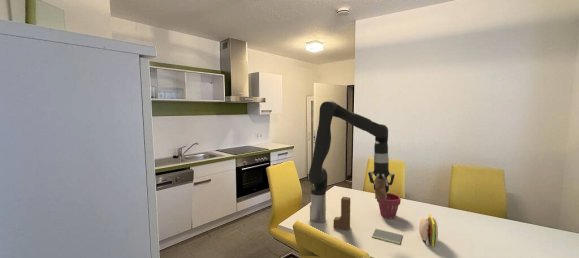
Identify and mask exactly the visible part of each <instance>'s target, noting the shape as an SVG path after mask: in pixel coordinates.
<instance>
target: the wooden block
mask: <svg viewBox="0 0 579 258" xmlns="http://www.w3.org/2000/svg"><path fill="white" fill-rule="evenodd" d="M333 228H337V229H342V230H346V231H349V229H350V228H351V197H350V196H349V197H348V196H342V197H341V199H340V216H336V217H334V219H333Z"/></svg>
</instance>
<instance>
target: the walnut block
mask: <svg viewBox="0 0 579 258" xmlns="http://www.w3.org/2000/svg"><path fill="white" fill-rule="evenodd" d="M374 181H375V190H374V194H375V195H374V197H375V198H374V199H376V200H377V199H381V200H385V199H386V197H387V193H388V192H386V182H385V179H383V178H376V177H375V179H374Z"/></svg>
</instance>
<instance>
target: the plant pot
mask: <svg viewBox="0 0 579 258" xmlns="http://www.w3.org/2000/svg"><path fill="white" fill-rule="evenodd" d="M376 202H377V203H378V208H379V211H380V212H379V213H380V215H381V217H383V218H387V219H395V218H396V217H397V212H398V210H399V209H398V208H399V206H400V205H401V197H400V196H399V194H395V193H389V192H387V197H386V199H385V200H381V199H376Z"/></svg>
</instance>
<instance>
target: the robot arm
mask: <svg viewBox="0 0 579 258" xmlns="http://www.w3.org/2000/svg"><path fill="white" fill-rule="evenodd" d="M318 114H319V115H318V125H317V129H316V136H315V139H314V140H315V142H314V149H313V155H312V160H311V164H310V168H309V171H308V180H309V182H310V183H311V184H312V187H311V188H310V199H311V200H310V204H309V220H311V221H312V222H314V223H319V224H320V223H324V222H326V221H327V219H326V218H327V213H326V212H327V204H326V203H327V202H326V201H327V197H326V196H327V193H326V192H327V189H328V171H327V170H326V168H324V167H323V165H324V162H325V160H326V158H327V156H328V154H329V152H330V149H331V145H332V131H331V129H332V128H331V126H332V125H331V124H332V122H333V121H332V120H333V117H334V118H339V119H341V120H343V121H345V122H347V123H348V124H349V125H351V126H353V127H355V128H357V129H358V130H359V129H360V130H361V131H364V132H367V133H369V134H370V135H372V136H374V141H375V142H374V150H373V153H374V154H373V171H368V172H367V174H368V178H369V182H370V183H371V184H373V190H374V191H375V179H374V177H373V175H374V176H375V178H383V179H385V182H386V192H387V193H389V191H390V186H392V185H393V184H394V180H395V176H396V175H395V173H391V172H390V171H389V170H390V169H389V168H390V167H389V165H390V164H389V161H390V159H389V144H388V141H389V128H388V127H387V125H385V124H380V123H378V122H375V121H372V120H371V119H370V118H368V117H365V116H363V115H360V114H358V113H355V112H353V111H350V110H349V109H347V108H344V107H343V106H341V105H340V104H338V103H337V102H335V101H333V100H326V101H323V102H322V103H321V104H320V106H319V113H318ZM388 177H389V178H390V180H389V179H388ZM389 181H390V182H389Z"/></svg>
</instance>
